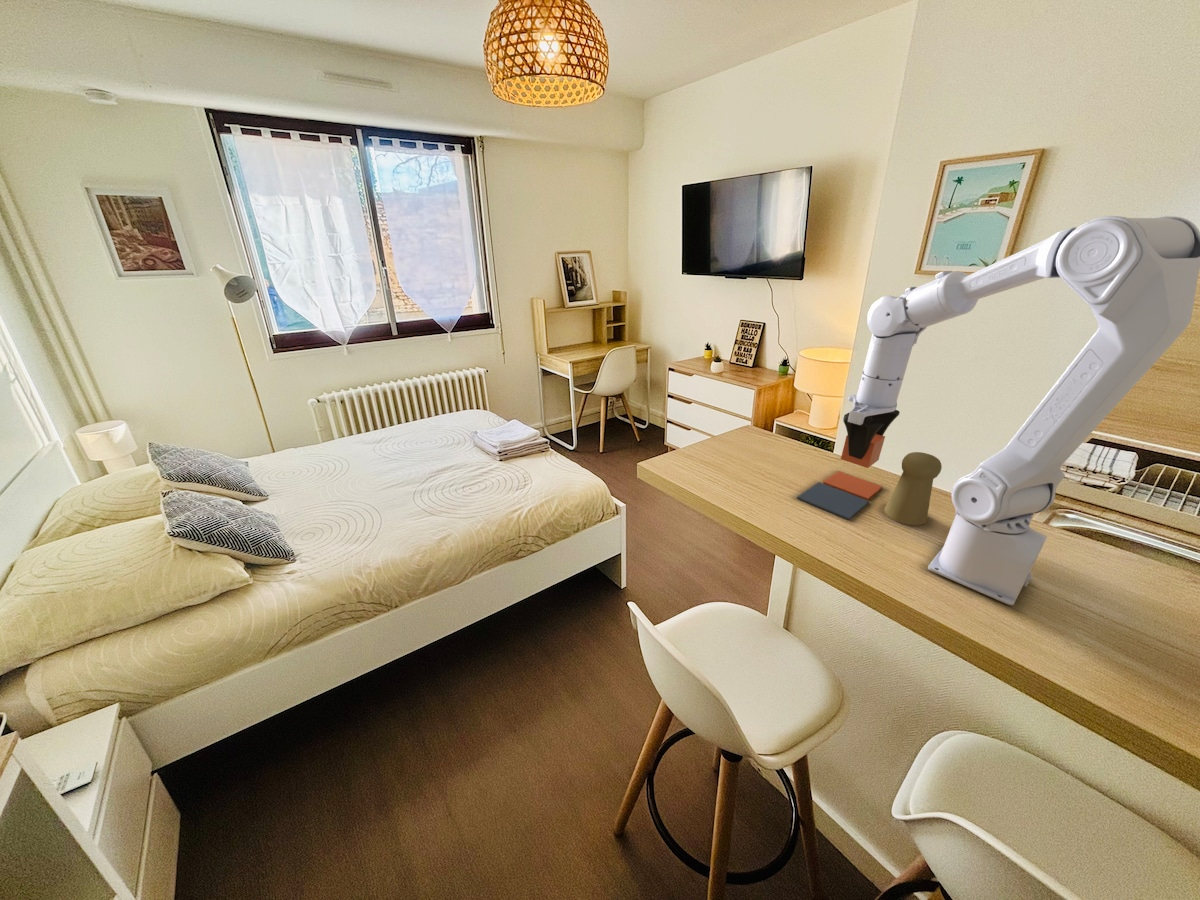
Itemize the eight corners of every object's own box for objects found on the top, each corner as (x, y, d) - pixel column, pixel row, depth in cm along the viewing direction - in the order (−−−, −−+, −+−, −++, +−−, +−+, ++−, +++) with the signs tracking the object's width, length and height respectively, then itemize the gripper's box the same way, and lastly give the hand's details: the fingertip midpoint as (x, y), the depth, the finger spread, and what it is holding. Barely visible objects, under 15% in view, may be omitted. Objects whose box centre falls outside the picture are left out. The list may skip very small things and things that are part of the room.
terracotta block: (878, 460, 80) (885, 436, 78) (867, 468, 77) (874, 443, 75) (851, 451, 83) (857, 428, 81) (840, 459, 80) (846, 435, 78)
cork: (924, 530, 74) (946, 468, 69) (881, 517, 77) (899, 457, 72) (928, 513, 78) (949, 454, 73) (887, 501, 81) (904, 444, 76)
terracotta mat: (882, 488, 85) (882, 486, 85) (867, 500, 82) (868, 498, 81) (838, 472, 91) (838, 470, 91) (822, 483, 87) (823, 481, 87)
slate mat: (868, 503, 81) (869, 501, 81) (848, 520, 76) (849, 518, 76) (818, 483, 87) (818, 481, 87) (796, 498, 82) (797, 496, 82)
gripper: (874, 362, 81) (855, 434, 87) (836, 378, 72) (819, 457, 78) (919, 370, 76) (897, 446, 82) (885, 389, 67) (863, 471, 73)
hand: (861, 452), depth 80 cm, fingers closed on terracotta block, 4 cm apart
